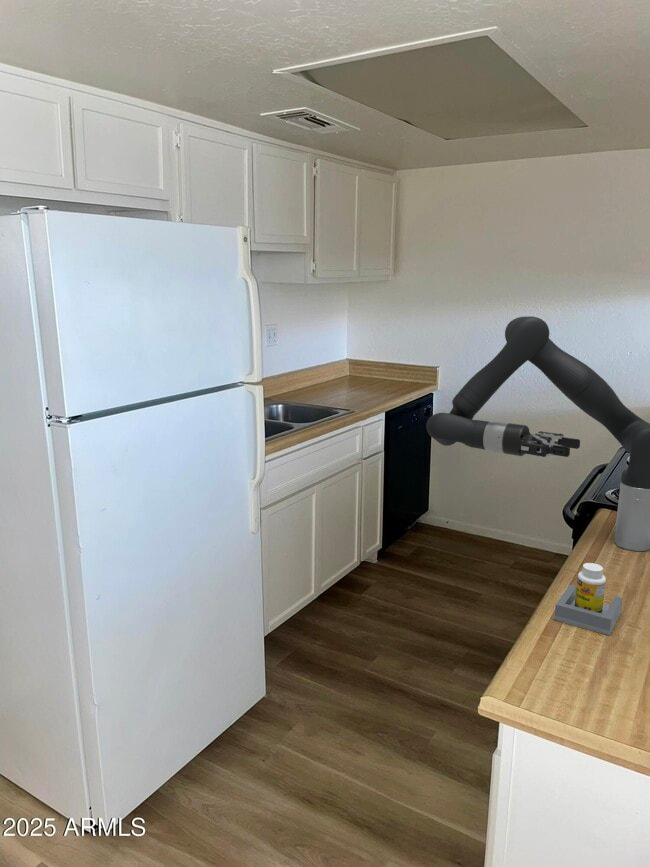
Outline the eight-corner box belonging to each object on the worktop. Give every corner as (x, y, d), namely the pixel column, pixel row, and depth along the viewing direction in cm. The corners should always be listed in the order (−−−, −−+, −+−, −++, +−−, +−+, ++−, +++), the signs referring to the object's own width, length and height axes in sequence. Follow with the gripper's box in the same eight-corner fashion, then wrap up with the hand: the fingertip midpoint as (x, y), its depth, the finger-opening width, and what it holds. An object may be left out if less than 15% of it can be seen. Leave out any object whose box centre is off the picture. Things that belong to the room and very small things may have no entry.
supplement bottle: (568, 607, 142) (573, 563, 140) (589, 602, 144) (593, 559, 142) (587, 619, 137) (592, 574, 135) (608, 614, 139) (613, 570, 137)
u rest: (568, 598, 148) (569, 584, 147) (620, 613, 142) (622, 598, 141) (554, 619, 139) (555, 604, 138) (609, 635, 133) (611, 619, 132)
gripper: (496, 428, 154) (567, 438, 145) (517, 418, 165) (584, 426, 156) (494, 459, 156) (564, 471, 147) (515, 447, 167) (581, 456, 158)
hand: (574, 448), depth 151 cm, fingers open, 8 cm apart
